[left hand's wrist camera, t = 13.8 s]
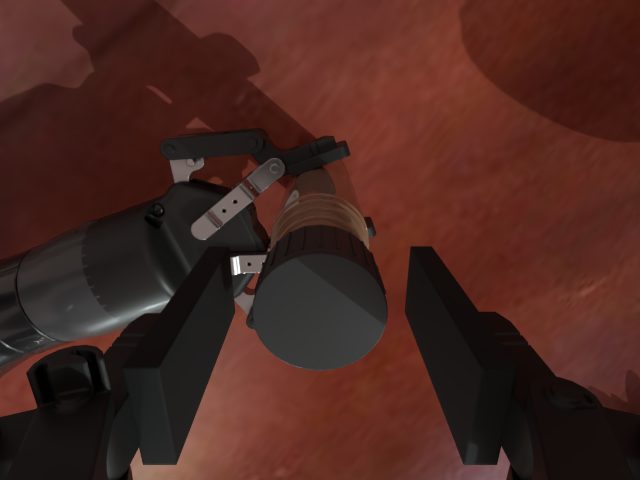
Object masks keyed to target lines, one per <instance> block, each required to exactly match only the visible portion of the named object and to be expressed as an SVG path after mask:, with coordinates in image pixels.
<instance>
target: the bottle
mask: <svg viewBox="0 0 640 480" xmlns="http://www.w3.org/2000/svg"><path fill="white" fill-rule="evenodd" d="M319 224H321V225H329V226H334V227H335V226H337V227H338V228H341V229H344V230H346V231H348V232H352V234H353V235H354V236H356V237H357V238H358V239H359V240H361V241H363V242H364V245H365V246H366V247H367V248H368V250H369V234H368V228H367V225H366V222H365V219H364V216H363V213H362V211H361V208H360V205H359V202H358V199H357V196H356V194H355V191H354V188H353V185H352V182H351V179H350V177H349V174H348V171H347V168H346V166H345V164H344V163H343V162H342V160H341V159H340V160H338V161H335V162H332V163H329V164H327V165H324V166H321V167H318V168H316V169H313V170H310V171H307V172H304V173H302V174H299V175H296V176H294V177H291V175H290V178H289V181H288V184H287V187H286V190H285V192H284V195H283V198H282V201H281V204H280V207H279V209H278V212H277V215H276V218H275V221H274V224H273V227H272V231H271V249H272V248H273V246H274V245H275V244H276V241H277V240H278V241H279V240H280V239H281V238H283V237H284V236H285V235H287V234H288V232H290V231H291V232H292V231H294V230H296V229H299V228H302V227H303V226H311V225H319Z"/></svg>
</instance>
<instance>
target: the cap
mask: <svg viewBox="0 0 640 480" xmlns="http://www.w3.org/2000/svg"><path fill="white" fill-rule="evenodd" d="M254 293H255V296H254V299H253V306H252V317H253V323H254V327H255V330H256V332H257V334H258V336H259V338H260V340H261V341H262V343H263V344H264V345H265V347H266V348H267V349H268V350H269V351H270V352H271V353H272V354H273V355H275V356H276V357H278V358H279V359H280V360H282V361H284V362H286V363H288V364H290V365H293V366H295V367H299V368H303V369H308V370H331V369H337V368H341V367H344V366H347V365H349V364H352V363H354V362H355V361H357V360H359V359H361V358H362V357H363V356H365V355H366V354H367V353H368V352H369V351H371V350H372V348H373V347H374V346H375V345H376V344H377V342H378V341H379V339H380V338H381V336H382V333H383V331H384V329H385V325H386V321H387V301H386V298H385V294H386V291H385V288H384V285H383V282H382V279H381V276H380V273H379V270H378V267H377V265H376V263H375V260H374V257H373V254H372V252H369V250H368V248H367V247H366V246H365V245H364V242H363V241H361V240H359V239H358V238H357V237H356V236H354V235H353V234H352V232H348V231H346V230H344V229H341V228H338V227H337V226H335V227H334V226H329V225H321V224H319V225H311V226H303V227H302V228H299V229H296V230H294V231H292V232H291V231H290V232H288V234H287V235H285V236H284V237H283V238H281V239H280V240H279V241H278V240H277V241H276V244H275V245H274V246H273V248H272V249H271V251H270V252H268V253H267V256H266V259H265V262H264V265H263V266H262V269H261V272H260V275H259V278H258V281H257V284H256V287H255V290H254Z"/></svg>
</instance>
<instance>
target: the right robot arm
mask: <svg viewBox="0 0 640 480" xmlns="http://www.w3.org/2000/svg"><path fill="white" fill-rule="evenodd" d="M160 152H161V154H162V156H163V157H164V158H166V159H168V160H170V165H171V169H172V174H173V178H174V184H173V185H172V186H171V187H170V188H169V189H168V191H167V192H166V193H165V194H164V195H162V196H160V197H157V198H154V199H152V200H149V201H146V202H144V203H141V204H138V205H136V206H133V207H130V208H128V209H125V210H122V211H120V212H117V213H114V214H112V215H109V216H106V217H104V218H101V219H96V220H91V221H88V222H85V223H83V224H82V225H81V226H80V227H77V228H74V229H72V230H69V231H67V232H64V233H62V234H60V235H58V236H56V237H54V238H53V239H51V240H49V241H48V242H46V243H44V244H42V245H40V246H37V247H34V248H32V249H29V250H26V251H24V252H21V253H18V254H16V255H13V256H10V257H8V258H5V259H2V260H0V378H1V377H2V376H3V375H5V374H6V373H7V372H9V371H10V370H12V369H13V368H14V367H16V366H18V365H19V364H21V363H22V362H24V361H25V360H27V359H28V358H30V357H32V356H34V355H36V354H39V353H42V352H45V351H48V350H51V349H54V348H57V347H60V346H63V345H66V344H69V343H72V342H75V341H78V340H81V339H86V338H91V337H98V336H103V335H107V334H110V333H113V332H117V331H120V330H123V329H125V328H126V327H127V325H128V324H129V323H130V322H132V321H133V320H135V319H136V318H138V317H140V316H141V315H143V314H144V313H161V311H162V310H163V309H164V307H165V306H166V305H167V303H168V302H169V300H170V299H171V298H172V296H173V295H174V293H175V292H176V291H177V289H178V288H179V287H180V285H181V284H182V282H183V281H184V280H185V278H186V277H187V275H188V274H189V273H190V271H191V270H192V269H193V267H194V266H195V264H196V263H197V262H198V260H199V259H200V257H201V256H202V255H203V253H204V252H205V251H206V249H207V248H208V247H229V249H230V260H231V271H232V282H233V293H234V300H235V301H236V302H237V304H238V305H239V306H240V307H241V308H242V309H243V310H244V311H245V312H246V314H247V315H248V317H247V320H246V324H247V326H248V327H249V328H251V329H253V330H255V327H254V323H253V317H252V306H253V299H254V296H255V293H254V290H255V289H250V288H248V287H247V285H248V284H249V282H250V281H251V279H252V278H253V276H254V275H255V273H260V272H261V269H262V266H263V265H264V262H265V259H266V256H267V253H268V252H270V251H271V236H268V235H267V232H266V230H265V228H264V227H263V226H262V225H261V223H260V222H259V221H258V219H257V212H256V207H255V205H254V203H253V200H254V199H255V198H256V197H257V196H258V195H259V194H261V193H262V192H263V191H264V190H265V189H267V188H268V187H269V186H270V185H271V184H273V183H274V182H275V181H276V180H278V179H279V178H280V177H282V176H284V175H287V174H290V175H291V177H294V176H296V175H299V174H302V173H304V172H307V171H310V170H313V169H316V168H318V167H321V166H324V165H327V164H329V163H332V162H335V161H338V160H340V159H343V158H345V157H348V156H349V155H350V151H349V148H348V145H347V143H346V141H341V142H338V143H336V142H335V139H334V136H323V137H320V138H318V139H315V140H312V141H310V142H307V143H304V144H302V145H299V146H296V147H294V148H291V149H288V150H282V149H280V148H278V147H277V146H276V145H275V144H274V143H273V142H272V141H271V140H270V139H269V137H268V134H267V132H266V131H265V130H263V129H261V128H254V129H242V130H231V131H219V132H208V133H196V134H185V135H179V136H175V137H172V138H169V139H166V140H164V141H163V142H162V143H161V145H160ZM242 154H251V155H252V156H253V157H254V158H255V159H256V160H257V161H258V163H259V164H260V165H259V166H258V167H257V168H255V169H254V170H253V171H251V172H250V173H249V174H248V175H247V176H245V177H244V178H243V179H242V180H241V181H239V182H238V183H237V184H236V185H235V186H233V187H232V188H227V187H224V186H220V185H216V184H213V183H209V182H205V181H202V180H198V179H194V178H193V175H194V172H195V170H199V169H201V168H202V167H204V166H205V165H206V164H207V162H208V157H218V156H230V155H242ZM364 219H365V222H366V225H367V228H368V234H369V238H372V237H374V236H375V235H376V231H375V228H374V225H373V222H372V220H371V217H364ZM369 244H370V243H369ZM269 245H270V246H269Z"/></svg>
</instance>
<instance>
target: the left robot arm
mask: <svg viewBox="0 0 640 480" xmlns="http://www.w3.org/2000/svg"><path fill="white" fill-rule="evenodd" d="M234 314H235V304H234V293H233V282H232V271H231V260H230V249H229V247H208V248H207V249H206V251H205V252H204V253H203V255H202V256H201V257H200V259H199V260H198V262H197V263H196V264H195V266H194V267H193V269H192V270H191V271H190V273H189V274H188V275H187V277H186V278H185V280H184V281H183V282H182V284H181V285H180V287H179V288H178V289H177V291H176V292H175V293H174V295H173V296H172V298H171V299H170V300H169V302H168V303H167V305H166V306H165V307H164V309H163V310H162V311H161V313H144V314H143V315H141V316H140V317H138V318H136V319H135V320H133V321H132V322H130V323H129V324H128V325H127V327H126V328H125V329H124V330H123V332H122V333H121V334H120V337H118V338H117V339H116V340H115V341H114V342H113V344H112V347H109V349H108V350H107V351H106V352H105V353H104V355H103V352H102V351H101V350H100V349H99V348H97V347H95V346H89V345H80V346H72V347H68V348H64V349H61V350H58V351H56V352H53V353H51V354H49V355H47V356H45V357H43V358H42V359H40V360H39V361H38V362H36V363H35V364H33V366H32V367H31V368H30V369H29V370H28V371H27V373H26V374H27V377H28V380H29V383H30V386H31V389H32V392H33V395H34V398H35V400H36V403H37V406H38V407H37V409H34V410H30V411H26V412H21V413H17V414H12V415H8V416H3V417H0V480H133V478H132V471H131V467H130V463H131V461H132V459H133V458H134V456H135V454H136V452H137V450H138V448H139V449H140V453H141V458H142V462H143V465H176V464H177V462H178V459H179V456H180V454H181V451H182V449H183V446H184V443H185V441H186V438H187V436H188V433H189V431H190V428H191V425H192V423H193V420H194V418H195V415H196V412H197V410H198V407H199V405H200V402H201V399H202V397H203V394H204V392H205V389H206V386H207V384H208V381H209V379H210V376H211V373H212V371H213V368H214V366H215V363H216V360H217V358H218V355H219V353H220V350H221V347H222V345H223V342H224V340H225V337H226V335H227V332H228V329H229V327H230V324H231V322H232V319H233V316H234ZM405 314H406V316H407V319H408V322H409V324H410V327H411V329H412V332H413V335H414V337H415V340H416V342H417V345H418V348H419V350H420V353H421V355H422V358H423V360H424V363H425V366H426V368H427V371H428V373H429V376H430V379H431V381H432V384H433V386H434V389H435V392H436V394H437V397H438V399H439V402H440V405H441V407H442V410H443V412H444V415H445V418H446V420H447V423H448V425H449V428H450V431H451V433H452V436H453V438H454V441H455V443H456V446H457V449H458V451H459V454H460V456H461V459H462V462H463V464H464V465H497V462H498V458H499V453H500V449H501V446H502V448H503V450H504V452H505V454H506V456H507V457H508V459H509V461H510V467H509V471H508V475H507V479H506V480H640V415H635V414H631V413H626V412H622V411H617V410H613V409H609V408H605V407H603V406H602V404H601V403H600V402H599V400H598V399H597V397H596V396H594V395H593V394H592V393H591V392H589V391H588V390H587V389H586V388H584V387H582V386H580V385H578V384H576V383H574V382H572V381H570V380H566V379H563V378H560V377H556V376H555V375H554V373H553V372H552V371H551V370H550V368H549V367H548V366H547V365H546V364H545V362H544V361H543V360H542V359H541V358H540V356H539V355H538V354H537V353H536V352H535V350H534V349H533V348H532V347H531V346H530V345H528V342H527V341H526V340H525V338H524V337H523V336H522V335H520V332H519V331H518V330H517V329H516V328H515V326H514V325H513V324H512V323H511V322H510V321H509V320H507V319H506V318H504V317H503V316H501V315H500V314H498V313H496V312H479V311H478V310H477V309H476V307H475V306H474V305H473V303H472V302H471V300H470V299H469V298H468V296H467V295H466V293H465V292H464V291H463V289H462V288H461V287H460V285H459V284H458V282H457V281H456V280H455V278H454V277H453V275H452V274H451V273H450V271H449V270H448V269H447V267H446V266H445V264H444V263H443V262H442V260H441V259H440V257H439V256H438V255H437V253H436V252H435V251H434V249H433V248H432V247H411V249H410V260H409V271H408V282H407V293H406V304H405Z"/></svg>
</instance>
